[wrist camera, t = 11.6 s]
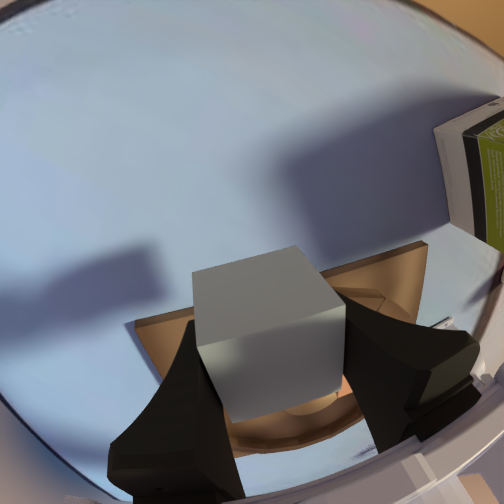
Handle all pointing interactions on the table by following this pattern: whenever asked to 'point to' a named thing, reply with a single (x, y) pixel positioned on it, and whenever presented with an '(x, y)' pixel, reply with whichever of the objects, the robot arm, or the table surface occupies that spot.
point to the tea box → (475, 171)
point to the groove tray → (351, 281)
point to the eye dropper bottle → (503, 278)
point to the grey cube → (269, 332)
